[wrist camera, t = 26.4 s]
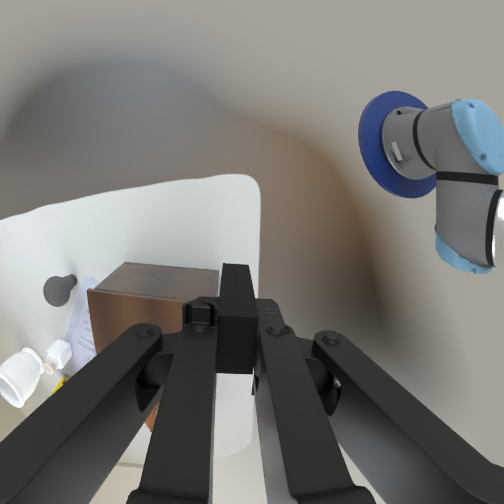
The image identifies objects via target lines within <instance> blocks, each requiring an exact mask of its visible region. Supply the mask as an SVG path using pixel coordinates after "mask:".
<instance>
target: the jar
mask: <svg viewBox="0 0 504 504" xmlns="http://www.w3.org/2000/svg"><path fill="white" fill-rule="evenodd" d="M42 364H43V362H42V360H41V358H40V357H39V355H38V354H37V353H36V352H35V351H34V350H32V349H30V348H28V347H25V348H23V349H22V352H18V353H16V354H14V355H13V356H11V357H10V358H8V359H7V360H6V361H5V362H4V363H3V364H2V365H1V367H0V393H1V395H2V396H3V397H4V398H5V399H6V400H7V401H8V402H9V403H10V404H12V405H13V406H15V407H18V408H21V407H22V406H23V405H24V401H25V400H26V399H28V398H29V397H30V395H31V394H32V393H33V391H34V390H35V388H36V385H37V383H38V381H39V379H40V374H42V373H43V372H44V369H43V367H42Z"/></svg>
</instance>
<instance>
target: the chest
mask: <svg viewBox="0 0 504 504" xmlns="http://www.w3.org/2000/svg"><path fill="white" fill-rule="evenodd" d="M218 277H219V270H208V269H196V268H184V267H173V266H162V265H151V264H140V263H130V262H124V263H123V264H122V265H121V266H120V267H118V268H117V269H116V270H115V271H114V272H113V273H111V274H110V275H109V276H108V277H107V278H106V279H104V280H103V281H102V282H101V283H100V284H99V285H98V286H97V287H95V288H94V289H96V290H103V291H111V292H118V293H126V294H135V295H144V296H153V297H162V298H172V299H183V300H195V299H196V298H198V297H199V296H208V297H217V291H218Z"/></svg>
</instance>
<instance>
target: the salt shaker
mask: <svg viewBox="0 0 504 504" xmlns="http://www.w3.org/2000/svg"><path fill="white" fill-rule="evenodd" d="M71 357H72V350H71V344H70V343H69V342H66V341H63V340H60V339H58V340H57V341H56V342H55V343H54V344H53V345H52V347H51V348H50V349H49V350H48V351H47V359H46V360H45V361H44V363H43V364H42V367H43V369H44V370H45V372H46V373H48V374H50V375H52V374H54V372H55V371H56V370H57V368H59V369H63V367H64V366H65V365H66V363H67V362H68V361H69V359H70V358H71Z"/></svg>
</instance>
